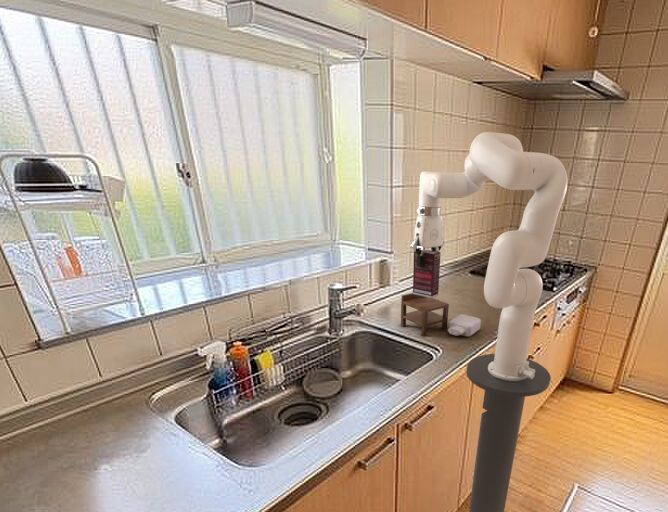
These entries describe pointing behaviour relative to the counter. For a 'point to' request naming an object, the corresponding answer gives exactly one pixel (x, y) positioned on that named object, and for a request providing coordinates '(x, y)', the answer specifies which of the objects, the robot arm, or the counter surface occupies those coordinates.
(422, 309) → the shelf rack
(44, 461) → the counter surface
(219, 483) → the counter surface
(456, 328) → the charger
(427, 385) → the counter surface
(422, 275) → the supplement box
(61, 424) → the counter surface
